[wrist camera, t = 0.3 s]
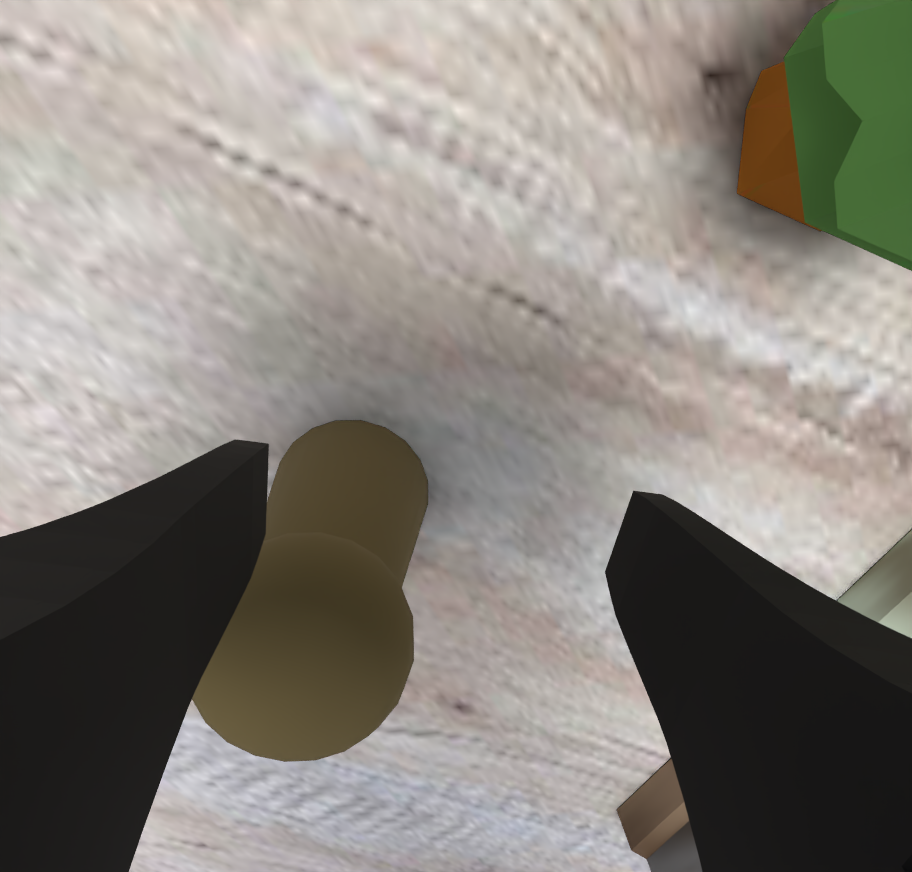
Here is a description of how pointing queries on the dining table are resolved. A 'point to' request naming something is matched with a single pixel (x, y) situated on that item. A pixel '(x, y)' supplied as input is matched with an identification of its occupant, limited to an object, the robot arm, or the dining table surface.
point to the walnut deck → (660, 799)
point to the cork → (323, 600)
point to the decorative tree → (839, 128)
